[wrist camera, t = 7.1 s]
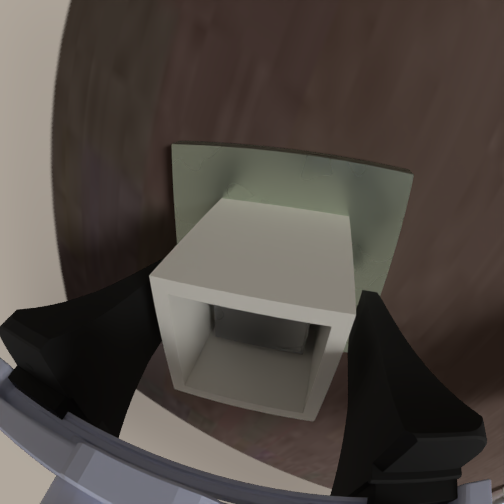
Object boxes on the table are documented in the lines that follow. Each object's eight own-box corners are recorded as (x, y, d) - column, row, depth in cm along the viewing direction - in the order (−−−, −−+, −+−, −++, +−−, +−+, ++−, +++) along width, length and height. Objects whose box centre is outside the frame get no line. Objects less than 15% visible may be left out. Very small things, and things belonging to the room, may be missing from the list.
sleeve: (326, 316, 15) (314, 421, 10) (222, 297, 16) (174, 388, 11) (349, 216, 12) (356, 315, 7) (221, 198, 13) (149, 275, 8)
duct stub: (408, 169, 11) (441, 207, 7) (357, 343, 16) (356, 405, 13) (179, 140, 13) (123, 165, 9) (190, 311, 18) (159, 363, 14)
